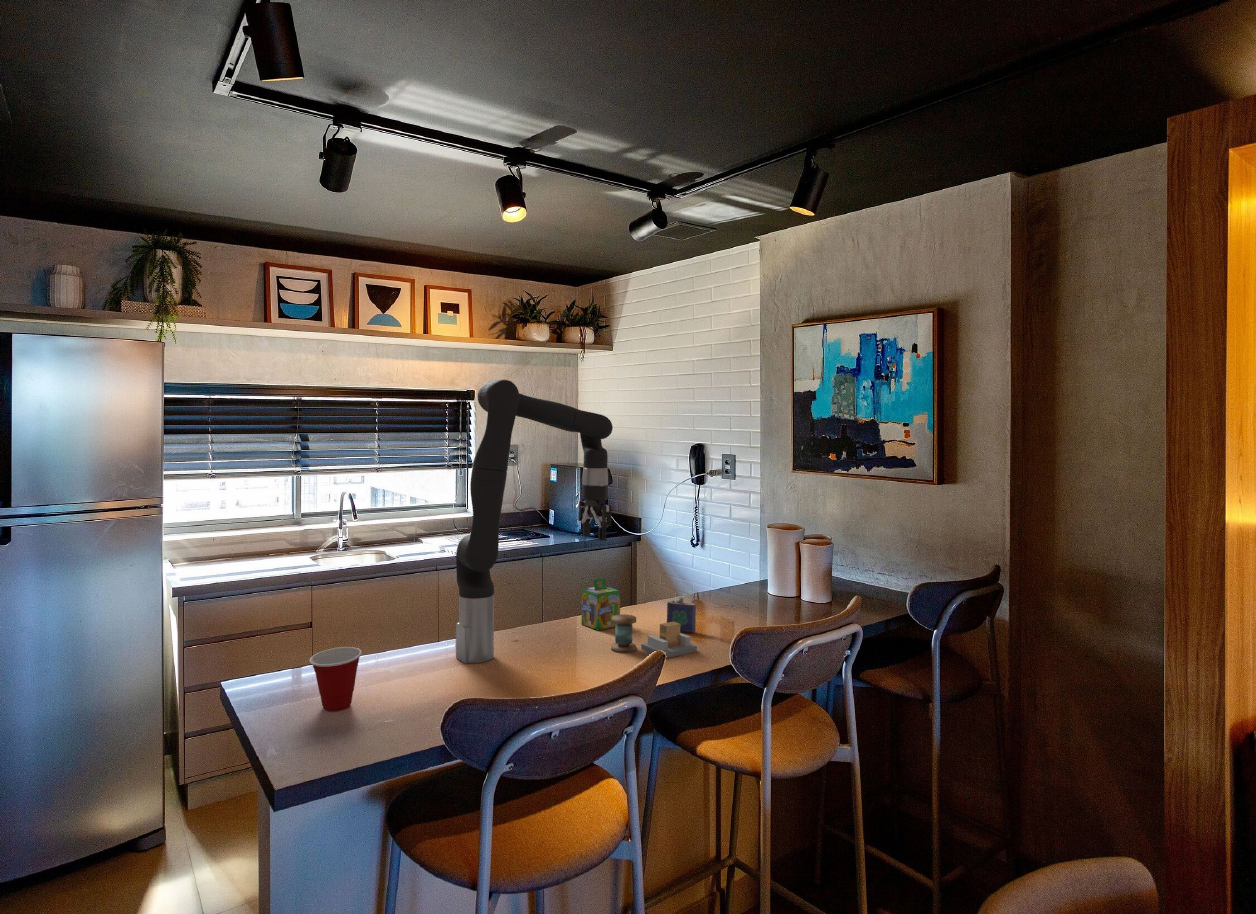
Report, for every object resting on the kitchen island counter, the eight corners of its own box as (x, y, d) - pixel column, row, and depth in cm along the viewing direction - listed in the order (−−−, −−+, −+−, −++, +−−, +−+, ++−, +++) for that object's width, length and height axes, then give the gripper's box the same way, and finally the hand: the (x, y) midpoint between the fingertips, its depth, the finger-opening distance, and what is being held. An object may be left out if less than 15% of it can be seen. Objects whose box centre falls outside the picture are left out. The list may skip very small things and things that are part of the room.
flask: (696, 632, 228) (696, 597, 227) (693, 634, 225) (694, 599, 225) (668, 628, 231) (668, 594, 231) (664, 631, 229) (665, 596, 228)
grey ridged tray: (663, 658, 201) (663, 644, 201) (641, 649, 210) (641, 635, 209) (696, 651, 208) (697, 637, 208) (674, 642, 217) (674, 629, 216)
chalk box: (597, 631, 227) (598, 583, 227) (580, 624, 234) (580, 578, 234) (621, 626, 233) (621, 579, 233) (603, 620, 240) (603, 574, 240)
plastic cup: (300, 707, 164) (300, 653, 164) (347, 694, 172) (347, 643, 172) (323, 720, 157) (323, 664, 156) (371, 706, 165) (371, 653, 164)
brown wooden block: (666, 647, 206) (666, 626, 206) (659, 645, 209) (659, 623, 209) (680, 644, 209) (680, 623, 209) (673, 642, 212) (673, 621, 212)
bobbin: (620, 654, 205) (620, 622, 204) (606, 647, 210) (606, 616, 210) (640, 650, 209) (641, 618, 208) (626, 643, 215) (626, 613, 214)
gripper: (571, 481, 221) (570, 536, 221) (597, 485, 209) (596, 542, 210) (592, 481, 225) (592, 534, 226) (619, 484, 213) (618, 540, 214)
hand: (594, 538), depth 218 cm, fingers open, 8 cm apart
